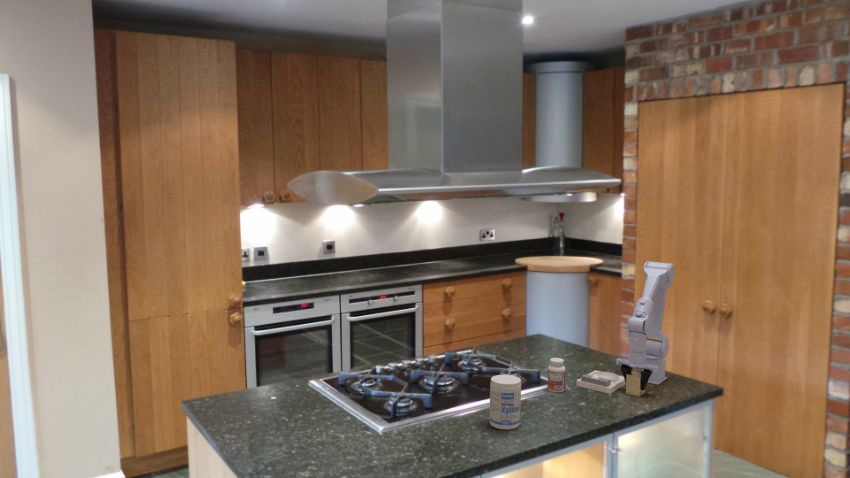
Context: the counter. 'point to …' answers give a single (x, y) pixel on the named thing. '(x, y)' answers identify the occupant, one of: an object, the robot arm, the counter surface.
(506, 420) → the supplement tub
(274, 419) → the counter surface
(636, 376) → the block
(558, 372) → the pill bottle
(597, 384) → the kitchen scale
